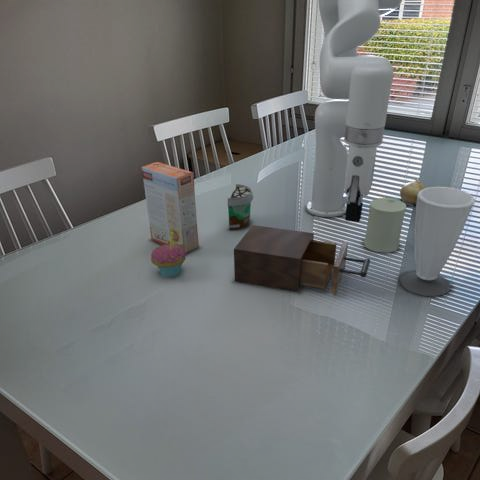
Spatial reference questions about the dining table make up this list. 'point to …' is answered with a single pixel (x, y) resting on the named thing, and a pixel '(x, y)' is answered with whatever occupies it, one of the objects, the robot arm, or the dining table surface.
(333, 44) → the robot arm
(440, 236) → the cup
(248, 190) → the food container
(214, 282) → the dining table surface
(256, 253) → the cabinet
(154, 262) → the cupcake
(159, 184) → the cracker box
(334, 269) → the drawer
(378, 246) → the can
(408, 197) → the onion
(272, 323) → the dining table surface
